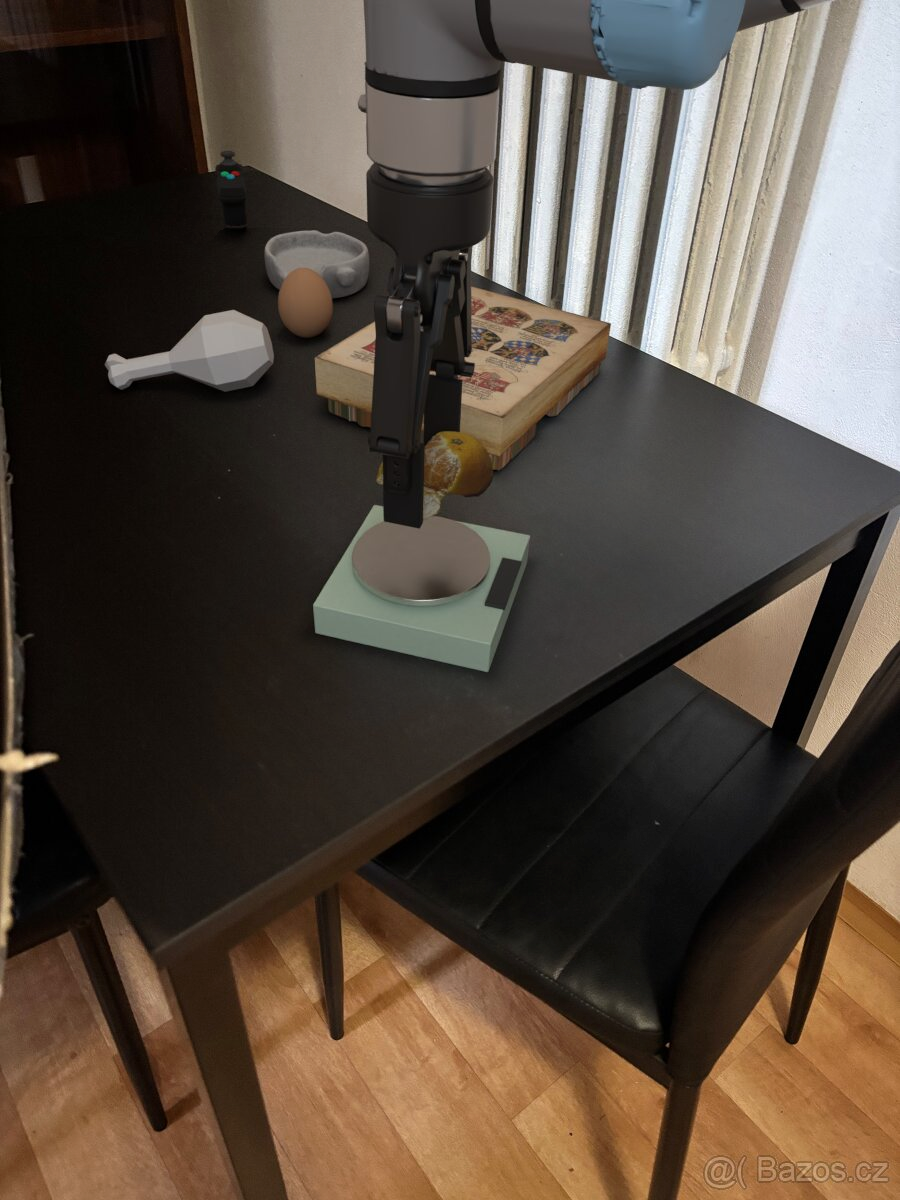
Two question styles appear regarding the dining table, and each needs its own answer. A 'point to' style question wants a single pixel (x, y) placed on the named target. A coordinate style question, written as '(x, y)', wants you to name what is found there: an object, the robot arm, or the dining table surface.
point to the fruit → (452, 469)
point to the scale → (427, 607)
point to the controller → (231, 190)
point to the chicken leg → (206, 355)
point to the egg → (305, 303)
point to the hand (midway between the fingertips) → (423, 486)
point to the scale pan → (421, 561)
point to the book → (487, 370)
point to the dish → (319, 259)
